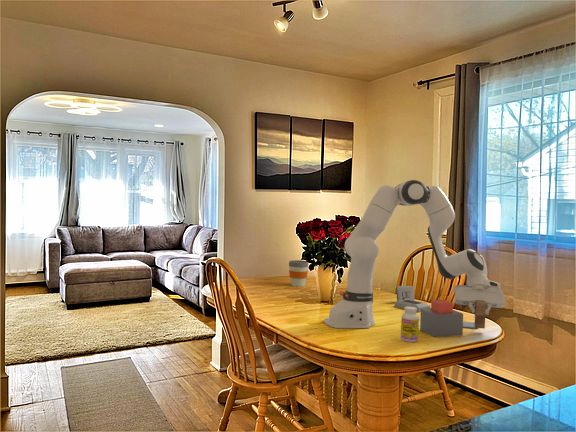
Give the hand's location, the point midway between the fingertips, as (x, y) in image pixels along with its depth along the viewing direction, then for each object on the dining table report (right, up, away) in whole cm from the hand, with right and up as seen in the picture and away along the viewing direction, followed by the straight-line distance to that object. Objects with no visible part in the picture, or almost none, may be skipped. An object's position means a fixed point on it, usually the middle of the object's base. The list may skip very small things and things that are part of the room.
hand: (480, 313), depth 198 cm
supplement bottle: (-33, -8, -13) cm, 37 cm away
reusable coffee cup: (-75, -3, +102) cm, 126 cm away
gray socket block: (-17, -8, -1) cm, 19 cm away
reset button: (-17, 0, -1) cm, 17 cm away
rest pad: (-2, -8, +12) cm, 14 cm away
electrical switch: (-18, -6, +57) cm, 60 cm away
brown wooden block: (0, -6, +1) cm, 6 cm away
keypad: (-17, -7, +44) cm, 48 cm away
